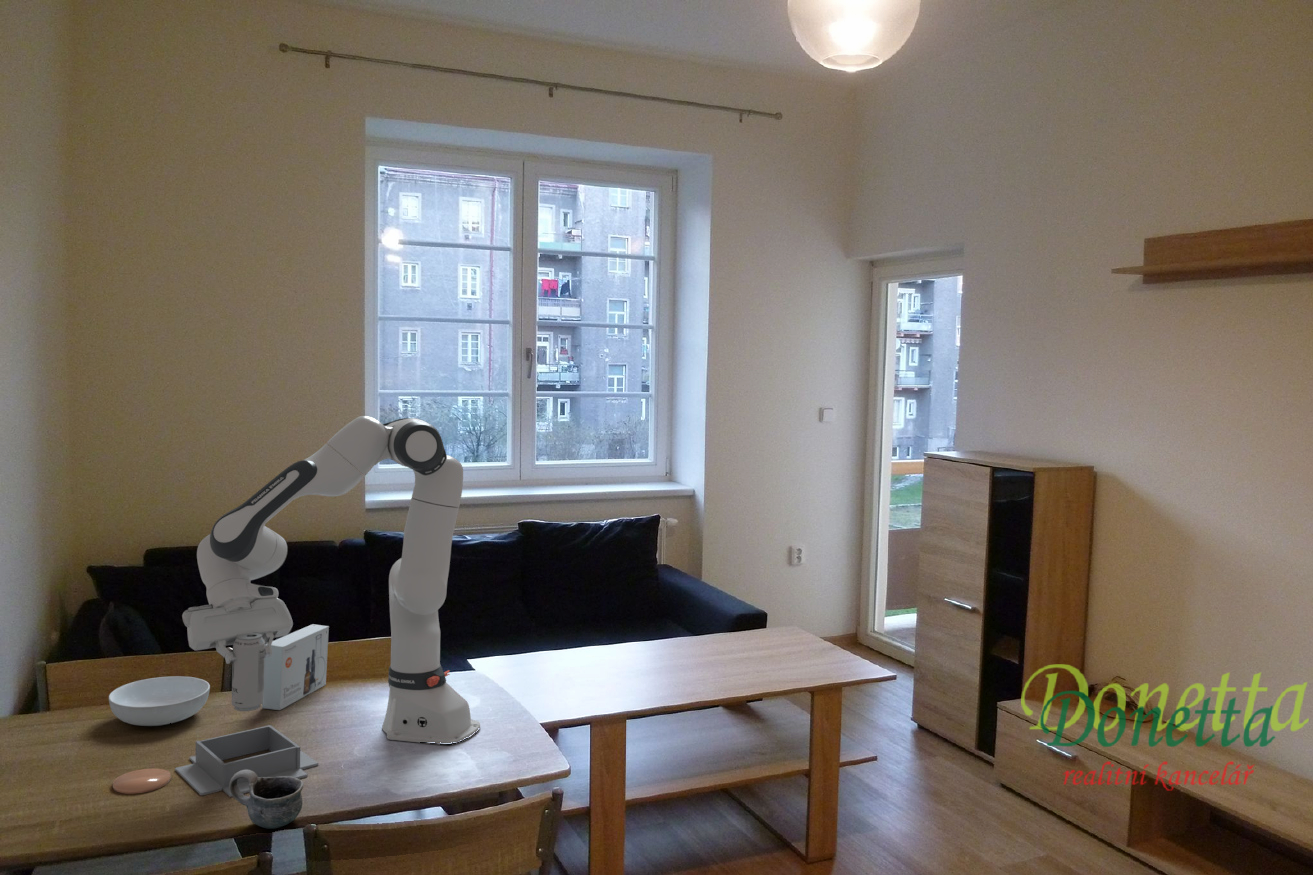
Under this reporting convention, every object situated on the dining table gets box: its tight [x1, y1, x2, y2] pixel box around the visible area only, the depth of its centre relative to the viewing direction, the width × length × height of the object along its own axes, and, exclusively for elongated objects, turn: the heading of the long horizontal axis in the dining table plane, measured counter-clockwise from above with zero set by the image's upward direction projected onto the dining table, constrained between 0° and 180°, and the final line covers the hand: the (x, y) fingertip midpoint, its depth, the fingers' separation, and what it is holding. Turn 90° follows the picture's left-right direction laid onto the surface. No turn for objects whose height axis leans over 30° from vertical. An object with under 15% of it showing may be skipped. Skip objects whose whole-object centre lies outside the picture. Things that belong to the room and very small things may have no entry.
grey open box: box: [174, 724, 319, 798], centre depth 197 cm, size 23×23×5 cm
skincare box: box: [261, 623, 330, 711], centre depth 240 cm, size 21×5×16 cm, turn 168°
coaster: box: [112, 767, 172, 795], centre depth 188 cm, size 10×10×1 cm
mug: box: [229, 770, 305, 830], centre depth 173 cm, size 10×12×10 cm
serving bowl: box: [108, 675, 211, 727], centre depth 222 cm, size 21×21×7 cm
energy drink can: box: [231, 632, 266, 712], centre depth 196 cm, size 6×6×15 cm
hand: (250, 658), depth 195 cm, fingers closed on energy drink can, 6 cm apart
